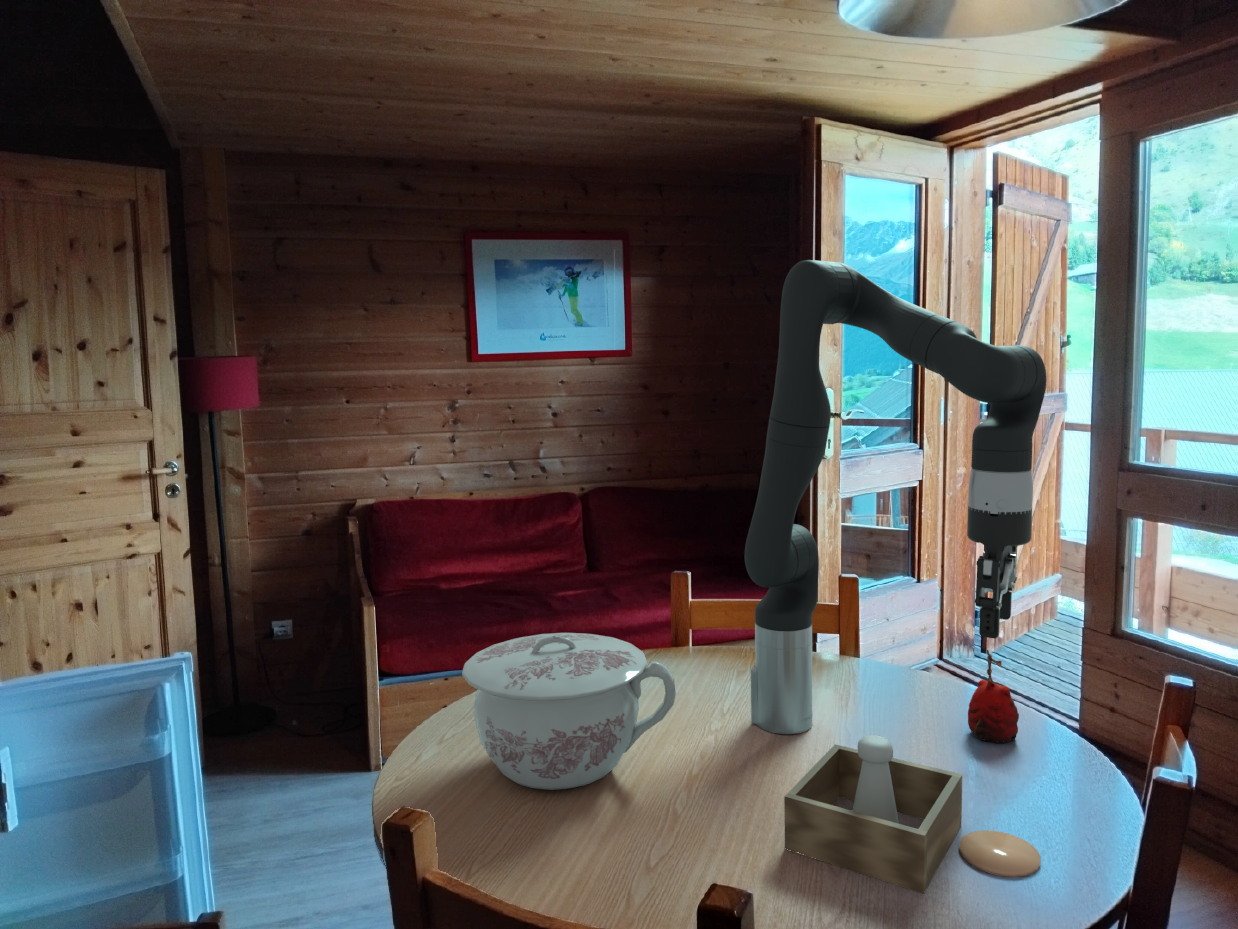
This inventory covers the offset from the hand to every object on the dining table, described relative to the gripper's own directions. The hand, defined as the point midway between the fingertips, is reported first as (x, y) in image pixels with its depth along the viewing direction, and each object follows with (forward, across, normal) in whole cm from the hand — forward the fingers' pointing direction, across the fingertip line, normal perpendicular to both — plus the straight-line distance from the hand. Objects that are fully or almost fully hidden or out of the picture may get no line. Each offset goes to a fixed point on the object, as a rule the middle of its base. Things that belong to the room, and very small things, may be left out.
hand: (995, 627), depth 114 cm
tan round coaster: (+25, +10, +3) cm, 27 cm away
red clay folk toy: (+26, -24, -4) cm, 35 cm away
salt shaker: (+26, +14, -11) cm, 31 cm away
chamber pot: (+26, +19, -57) cm, 66 cm away
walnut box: (+25, +14, -11) cm, 31 cm away
